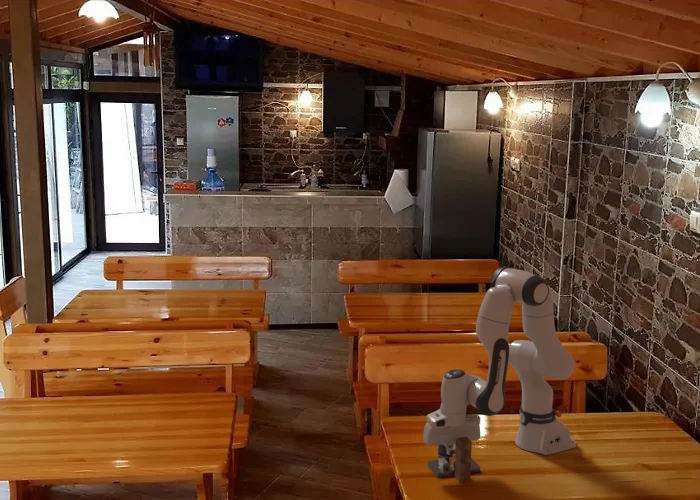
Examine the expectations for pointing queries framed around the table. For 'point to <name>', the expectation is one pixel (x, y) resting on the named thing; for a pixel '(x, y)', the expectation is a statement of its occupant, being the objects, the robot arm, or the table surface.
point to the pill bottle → (444, 451)
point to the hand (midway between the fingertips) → (451, 453)
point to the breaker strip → (448, 466)
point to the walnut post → (463, 458)
